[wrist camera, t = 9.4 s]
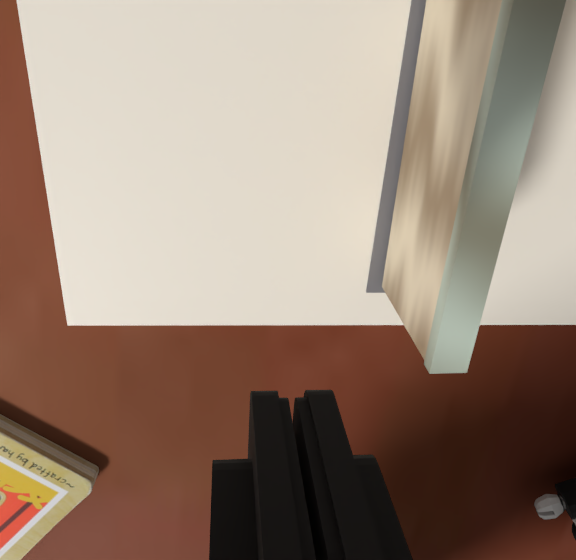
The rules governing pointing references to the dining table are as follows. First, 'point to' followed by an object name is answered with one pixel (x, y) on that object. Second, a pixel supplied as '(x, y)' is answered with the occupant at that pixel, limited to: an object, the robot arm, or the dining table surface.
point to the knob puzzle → (36, 487)
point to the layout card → (263, 162)
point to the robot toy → (559, 502)
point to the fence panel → (463, 164)
